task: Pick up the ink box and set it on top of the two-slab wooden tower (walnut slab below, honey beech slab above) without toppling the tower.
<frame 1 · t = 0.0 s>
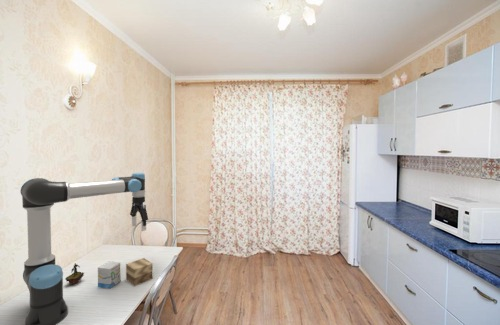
hand: (138, 228, 155), 28 cm above the table, fingers open, 13 cm apart
slab bottom: (139, 279, 145), on the table, touching slab top
figurine: (74, 283, 139), on the table
slab top: (139, 271, 145), point 5 cm above the table, touching slab bottom
ink box: (109, 284, 139), on the table
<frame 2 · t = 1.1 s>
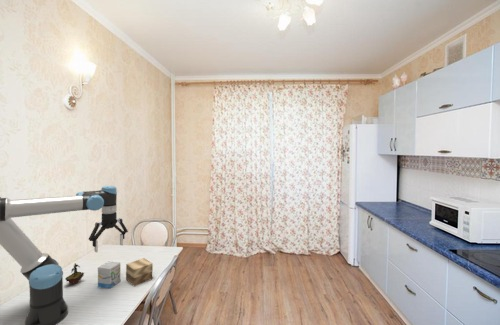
hand: (109, 248, 138), 21 cm above the table, fingers open, 13 cm apart
nothing on the table moved.
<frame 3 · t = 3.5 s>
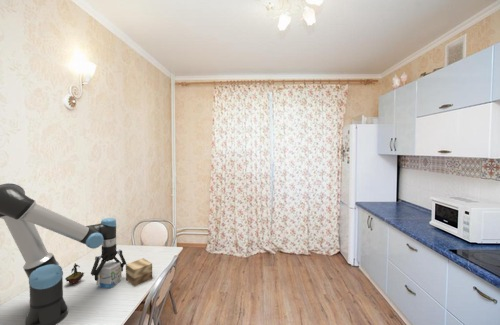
hand: (109, 281, 139), 2 cm above the table, fingers closed on ink box, 11 cm apart
ink box: (109, 284, 139), on the table, touching gripper
everything else where it was.
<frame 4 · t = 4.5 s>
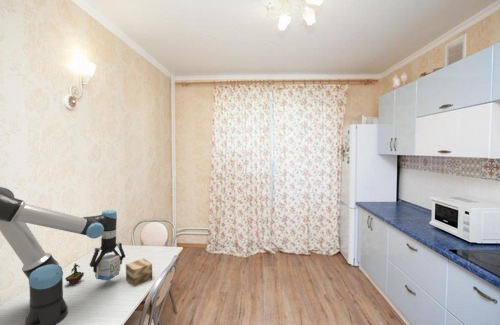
hand: (108, 273, 138), 6 cm above the table, fingers closed on ink box, 11 cm apart
ink box: (107, 276, 139), point 5 cm above the table, touching gripper
everything else where it was.
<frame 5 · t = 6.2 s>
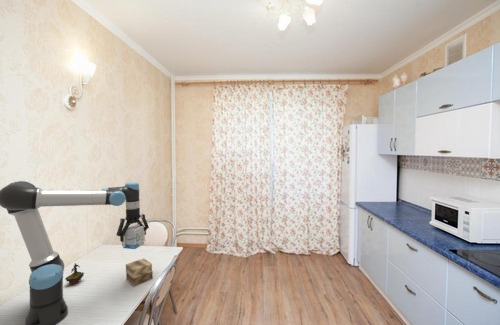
hand: (133, 243, 143), 23 cm above the table, fingers closed on ink box, 11 cm apart
ink box: (133, 246, 143), point 21 cm above the table, touching gripper
everything else where it was.
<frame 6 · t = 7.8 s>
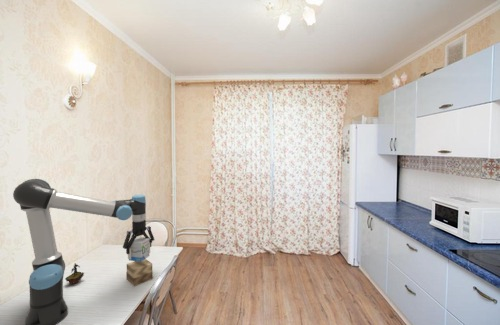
hand: (139, 255, 144), 15 cm above the table, fingers closed on ink box, 11 cm apart
ink box: (139, 258, 144), point 13 cm above the table, touching gripper
everything else where it was.
when the fingers open (13 cm above the table, at t = 8.8 s): ink box drops 2 cm, resting on slab top.
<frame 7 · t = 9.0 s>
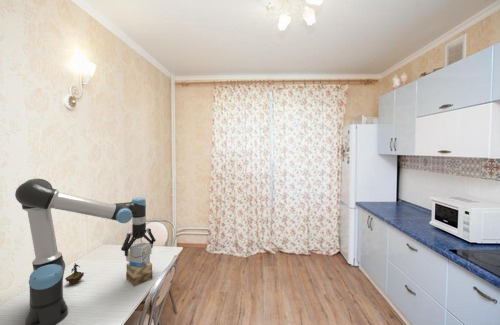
hand: (139, 257, 144), 14 cm above the table, fingers open, 13 cm apart
slab top: (139, 271, 145), point 5 cm above the table, touching ink box, slab bottom
ink box: (139, 263, 145), point 10 cm above the table, touching slab top
everything else where it was.
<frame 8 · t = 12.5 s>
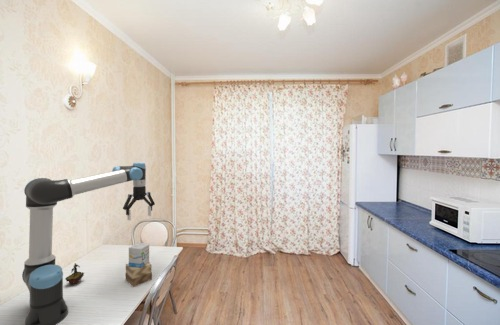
hand: (139, 217, 156), 35 cm above the table, fingers open, 13 cm apart
nothing on the table moved.
at the end: ink box inside the target area on the slab top (0.4 cm from its centre), point 4.8 cm above the slab top's base; slab top tilted 0°; slab top moved 0.8 cm from its start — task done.
